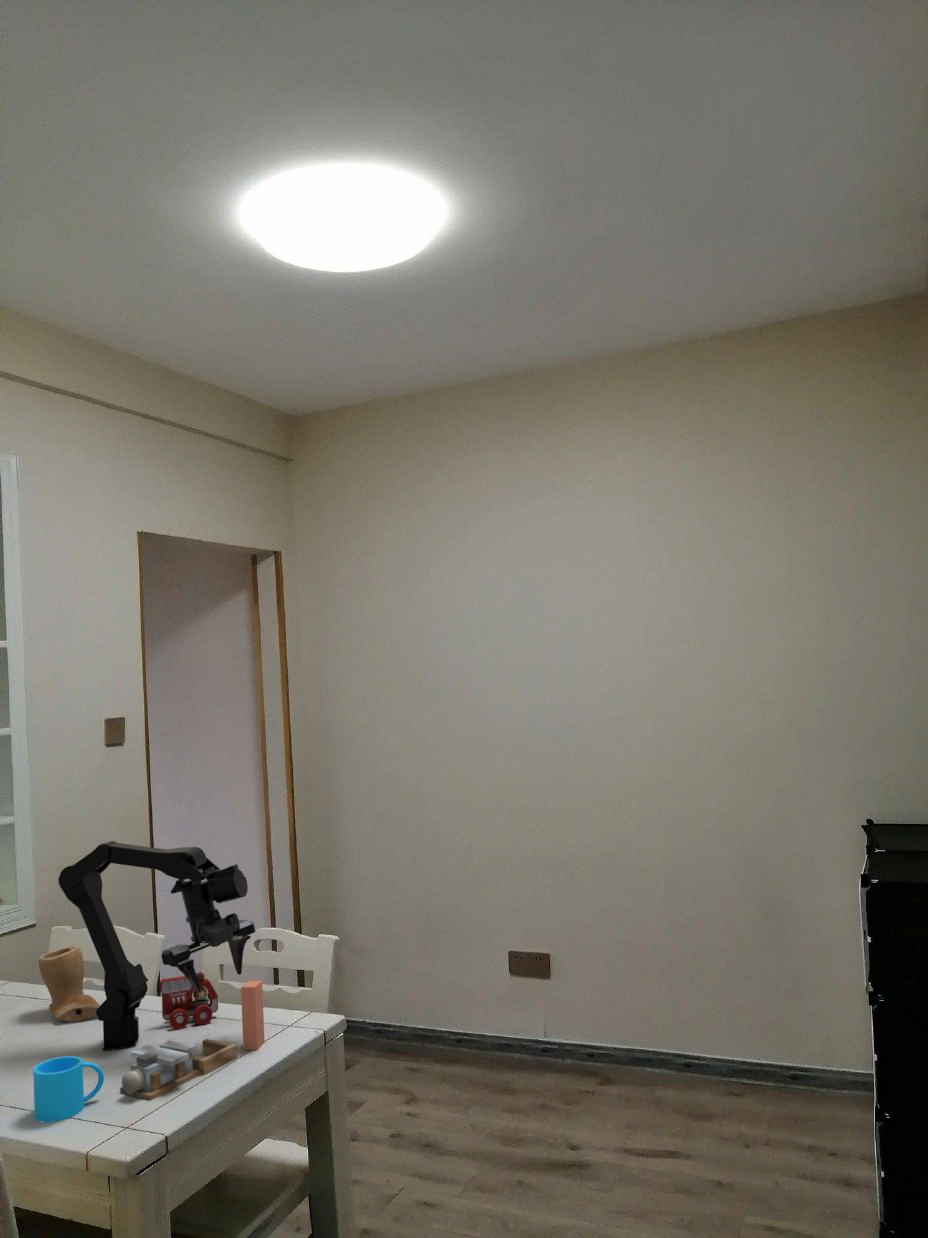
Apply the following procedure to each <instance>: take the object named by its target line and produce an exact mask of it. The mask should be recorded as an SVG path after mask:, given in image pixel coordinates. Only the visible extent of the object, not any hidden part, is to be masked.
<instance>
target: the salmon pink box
mask: <svg viewBox="0 0 928 1238" xmlns="http://www.w3.org/2000/svg"><path fill="white" fill-rule="evenodd" d="M240 995H241V996H240V997H241V1019H242V1021H241V1022H242V1023H241V1025H242V1049H244V1050H245V1051H252V1050H253V1051H258V1050H259V1049H260V1047H262V1046H263V1044H265V1041H266V1040H265V1022H264V1021H265V1020H264V1018H265V1017H264V998H263V981H262V980H248V981H247V982H245V983H244V984H242V986H241V987H240ZM248 1049H249V1050H248ZM250 1049H251V1050H250ZM244 1050H243V1051H244Z"/></svg>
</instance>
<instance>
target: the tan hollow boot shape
mask: <svg viewBox="0 0 928 1238" xmlns="http://www.w3.org/2000/svg"><path fill="white" fill-rule="evenodd" d="M38 969H39V974H40V976H41V978H42V980H43V982H44V984H45V986H46V988H47V991H48V993H49V995H50V998H51V1003H49V1006H48V1011H49V1012H50V1013H51V1015H52V1016H53V1017H55V1019H57V1020H58V1021H59V1020H60V1021H65V1022H75V1023H76V1022H82V1021H84V1020H87V1019H90V1018H93V1017H94V1016H97V1014H96V1010H97V1009H98V1008H99V1007H100V1006H101V1004H100V1003H98V1002H97V1000H96V999H95V998H94V997H92V996H91V995H89V994H84V976H85V964H84V957H83V951H82V950H81V948H80V947H79V946H73V945H70V946H65V947H62V948H58V949H56V950H53V951H52V950H51V951H49V952H46V953H44V954H43V955H41V956H39V958H38Z"/></svg>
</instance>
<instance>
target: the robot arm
mask: <svg viewBox="0 0 928 1238" xmlns="http://www.w3.org/2000/svg"><path fill="white" fill-rule="evenodd" d="M111 864H115V865H123V866H130V867H137V868H143V869H151V870H156V871H159V872H162V873H163V874H164V875H166V876H168V877H171V878H173V879H177V880H176V881H175V884H174V885H173V887H172V888H171V889H170V894H173V895H174V894H177V893H181V896H182V901H183V904H184V909H185V912H186V915H187V916H185V919H186V920H185V921H186V923H188V924H189V927H190V931H191V935H192V936H190V940H191V943H190V944H176V945H174V946H171V947H169V948H166V949H163V950H162V953H161V961H162V965H164V966H170V967H172V968H174V967H175V968H177V969H178V970H179V972H181V973H182V974H183V976H186V978H187V979H188V980H189V982H190V983H191V984H192V986H193V987H194V988H195V990H196V991H197V992H200V991H201V989H200V984H199V981H198V978H197V975H196V974H197V972H196V970H195V966H194V963H195V961H194V959H193V958H192V959H191V955H192V954H194V953H196V952H199V951H201V950H204V949H206V948H208V947H211V948H212V947H213V948H216V947H220V946H221V944H224V943H227V942H228V943H227V944H228V946H229V947H228V948H229V951H230V955H231V959H232V962H233V966H234V968H235V971H236V973H237V975H242V970H243V969H242V968H243V958H244V950H245V946H246V943H247V942H248V940H251V937H252V936H251V935H252V934H255V933H256V927H255V923H254V922H253V921H252V920H250V919H239V918H238V917H239V916H238V914H236V913H235V912H233V913H230V914H228V915H226V916H225V917H223V918H222V916H221V914H220V911H219V908H216V906H215V903H216V904H223V903H226V902H230V901H234V900H238V899H242V898H245V897H246V896H247V894H248V880H247V877H246V876H245V875H244V873H243V871H242V870H241V869H240V868H239V865H238V864H237V863H236V864H232V865H230V866H227V867H225V868H220V867H219V866H217V865H216V864H215V863H214V862H213V861H212V860H210V859H209V858H208V857H207V855H206V853H205V851H203V849H202V848H201V847H198V846H185V847H176V848H160V847H159V848H157V847H152V846H145V845H144V846H143V845H137V844H129V843H122V842H121V843H120V842H117V841H114V840H110V841H107V842H104V843H102V844H101V843H100V844H99V845H98V846H96V847H95V848H94V849H93V850H92V851H91V852H89V853H88V854H87V855H85V856H84V857H83V858H81V859H80V860H78V861H77V862H76V863H74V864H71V865H67V866H66V867H65V868H63V869H62V870H61V871H60V874H59V876H58V878H57V879H58V885H59V887H60V889H61V891H62V892H63V894H64V895H65V897H66V899H67V900H68V901H69V902H71V903H72V904H73V905H74V906H75V907H77V908H78V910H79V912H80V914H81V916H82V920H83V922H84V925H85V927H86V929H87V932H88V935H89V936H90V939H91V941H92V943H93V947H94V949H95V951H96V954H97V956H98V959H99V961H100V963H101V965H102V968H103V971H104V978H103V982H104V983H103V989H104V990H103V991H104V993H105V998H106V999H105V1000H104V1001H103V1002H102V1003H101V1004H100V1007H99V1008H98V1009H97V1010H96V1017H97V1020H98V1021H99V1022H102V1030H103V1031H102V1032H103V1036H102V1037H103V1045H102V1047H101V1048H102V1051H110V1050H111V1051H112V1050H118V1049H125V1048H132V1047H133V1048H134V1047H136V1044H137V1041H138V1040H139V1039H140V1026H139V1023H140V1022H139V1019H140V1018H139V1016H136V1009H138V1008H140V1005H141V1002H142V1000H143V999H144V998H145V997H146V996H147V992H148V984H147V982H149V979H148V978H147V976H146V975H145V973H144V969H143V966H142V964H141V963H138V964H136V965H134V964H132V963H131V962H130V961H129V960H128V958H127V956H126V953H125V951H124V949H123V947H122V944H121V942H120V939H119V936H118V934H117V932H116V930H115V927H114V925H113V922H112V920H111V916H110V915H109V913H108V911H107V907H106V906H105V903H104V901H103V898H102V896H103V894H102V893H103V880H102V876H101V874H102V873H103V872H105V870H107V869H108V868H109V866H110V865H111ZM195 990H194V991H195Z"/></svg>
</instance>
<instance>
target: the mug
mask: <svg viewBox="0 0 928 1238" xmlns="http://www.w3.org/2000/svg"><path fill="white" fill-rule="evenodd" d="M84 1068H91V1069H93V1070H94V1071H95V1072H96V1073H97V1077H98V1078H97V1079H98V1080H97V1083H96V1085H95V1087H94V1088H93V1089H92V1090H91V1092H90V1093H88V1094H86V1095H85V1096H84V1093H85V1092H84ZM32 1071H33V1072H32V1073H33V1102H34V1103H33V1108H34V1120H36V1119H37V1120H36V1121H38V1122H41V1121H43V1122H42V1123H53V1122H52V1121H57V1122H61V1120H62V1121H64V1120H63V1119H66V1120H68V1119H71V1118H73V1116H74V1117H76V1116H77V1115H79V1114H80V1113H82V1110H83V1111H84V1109H85V1102H88V1101H89V1100H91V1099H92V1098H94V1097H95V1096H96V1095H97V1094H98V1093H99V1091H100V1090H101V1088H102V1086H103V1084H104V1080H105V1075H104V1071H103V1069H102V1068H101V1067H100V1065H98V1064H96V1063H94V1062H88V1061H83V1059H82V1058H80V1057H79V1056H73V1055H71V1056H69V1055H68V1056H67V1055H65V1056H59V1057H54V1058H51V1059H47V1060H44V1061H42V1062H39V1063H38V1064H37V1065H35V1066H34V1067H33V1069H32ZM83 1108H84V1109H83ZM79 1112H80V1113H79ZM76 1114H77V1115H76ZM70 1117H71V1118H70Z"/></svg>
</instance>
